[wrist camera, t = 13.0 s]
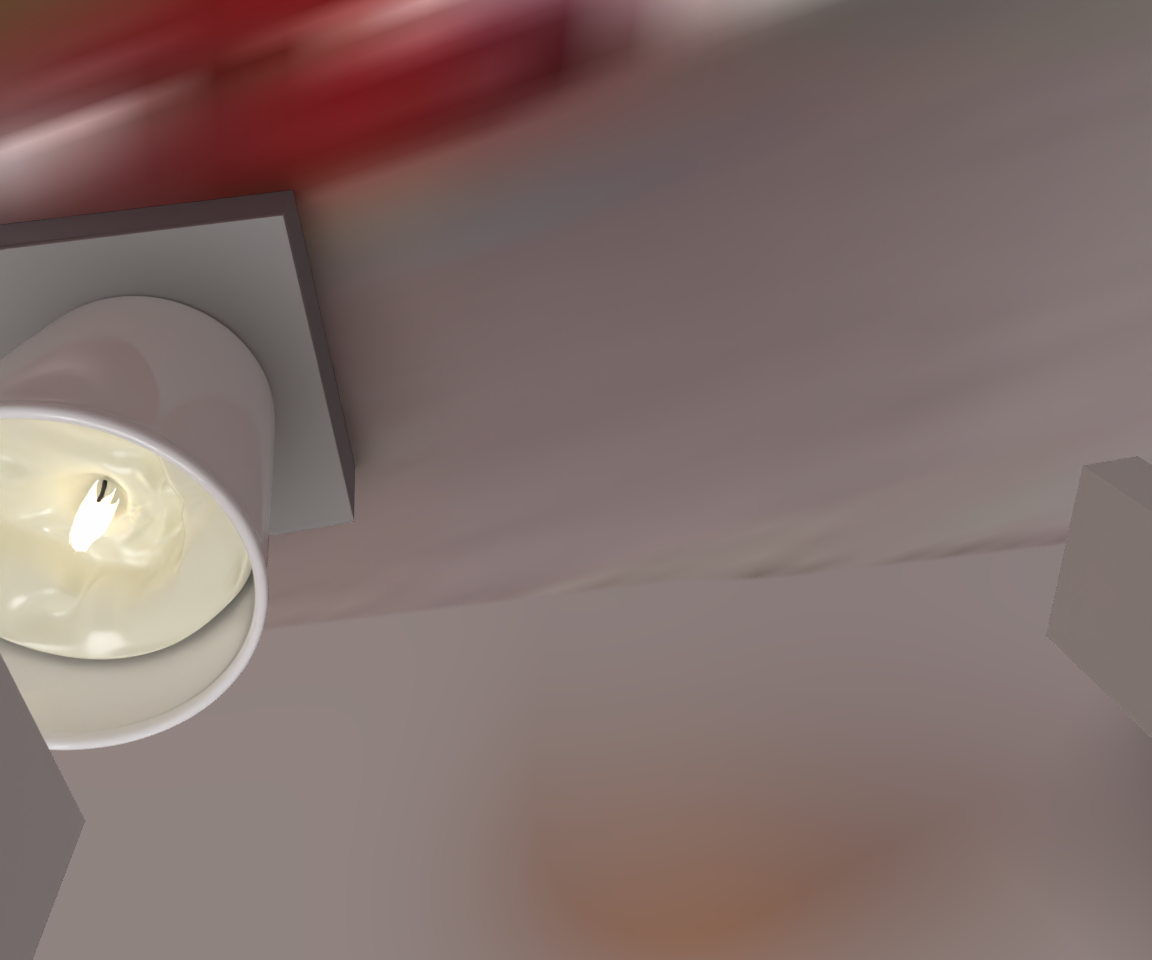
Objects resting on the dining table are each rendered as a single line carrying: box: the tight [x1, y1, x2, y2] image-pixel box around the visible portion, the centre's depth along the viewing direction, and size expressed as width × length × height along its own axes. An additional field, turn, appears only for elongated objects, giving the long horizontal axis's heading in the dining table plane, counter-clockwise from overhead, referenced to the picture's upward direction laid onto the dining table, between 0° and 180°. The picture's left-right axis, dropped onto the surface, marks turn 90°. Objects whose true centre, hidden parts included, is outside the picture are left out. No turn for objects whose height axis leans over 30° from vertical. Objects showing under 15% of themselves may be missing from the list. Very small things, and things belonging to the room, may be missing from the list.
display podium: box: [0, 190, 355, 536], centre depth 34 cm, size 12×12×5 cm
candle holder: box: [0, 296, 275, 750], centre depth 27 cm, size 10×10×12 cm
